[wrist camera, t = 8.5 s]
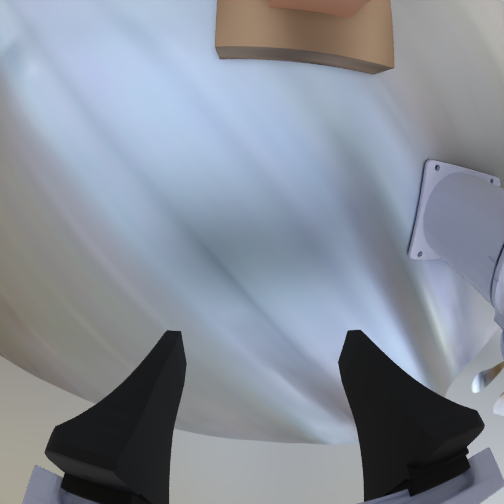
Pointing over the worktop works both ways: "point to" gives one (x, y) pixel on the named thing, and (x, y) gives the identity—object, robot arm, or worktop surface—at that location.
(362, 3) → the terracotta cube
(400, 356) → the worktop surface
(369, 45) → the walnut block
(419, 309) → the worktop surface
